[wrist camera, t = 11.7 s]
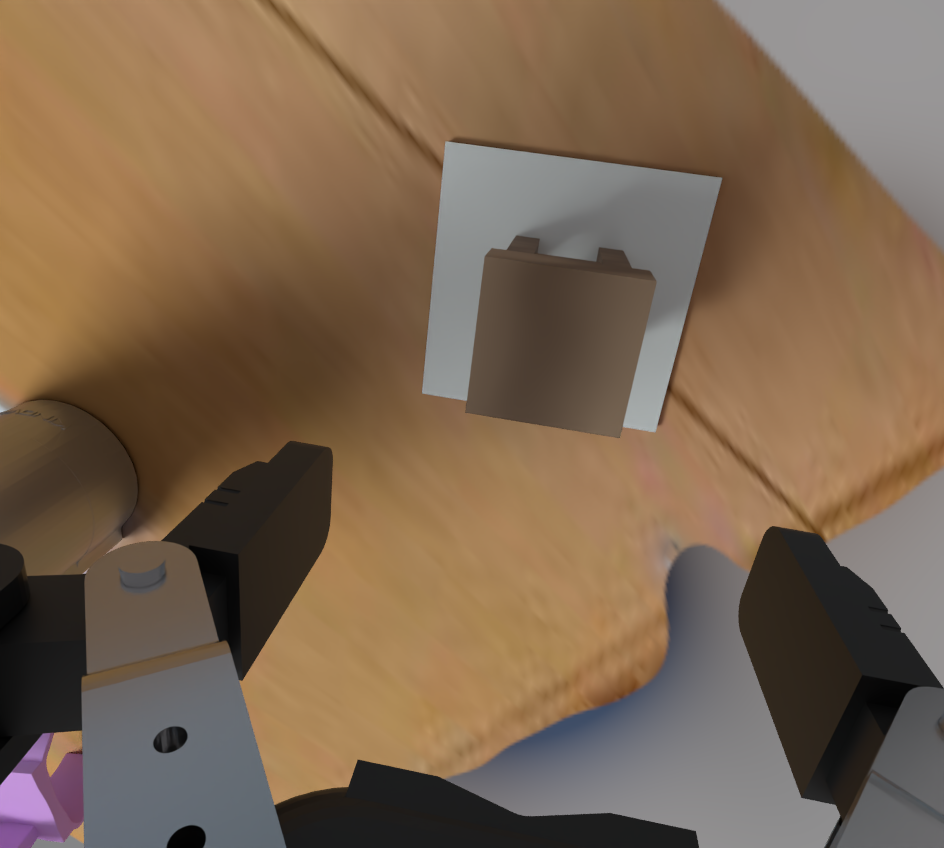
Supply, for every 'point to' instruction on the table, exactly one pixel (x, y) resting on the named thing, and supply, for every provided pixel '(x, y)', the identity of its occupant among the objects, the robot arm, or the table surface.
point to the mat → (564, 248)
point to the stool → (558, 338)
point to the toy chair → (41, 798)
